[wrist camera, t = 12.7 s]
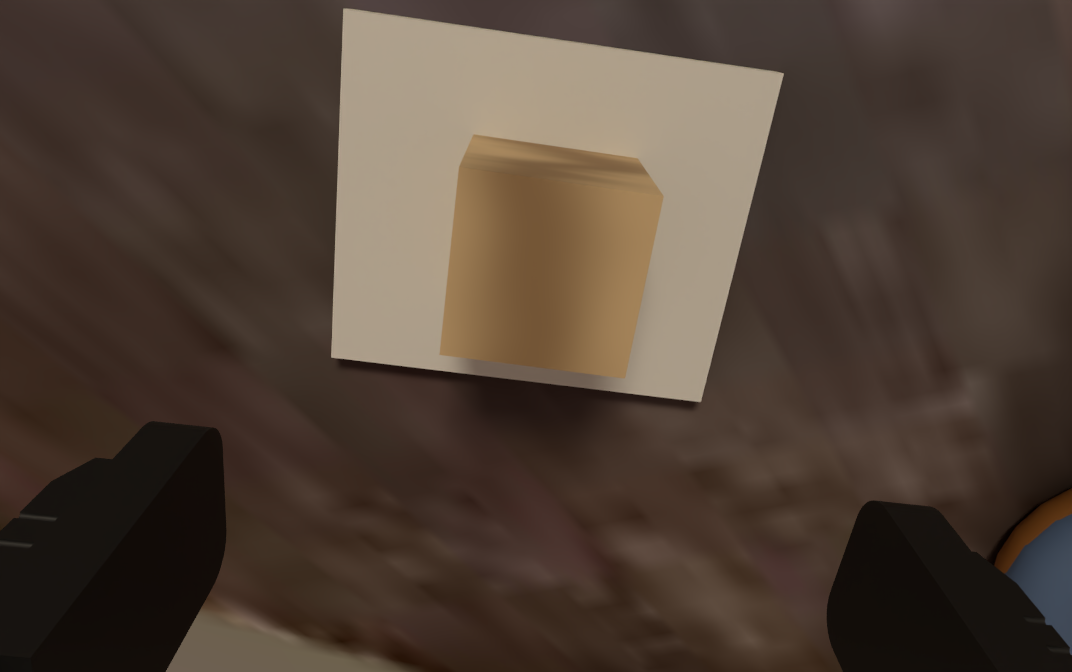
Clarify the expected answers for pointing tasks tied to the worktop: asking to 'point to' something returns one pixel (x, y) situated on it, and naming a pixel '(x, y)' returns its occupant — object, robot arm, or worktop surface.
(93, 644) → the robot arm
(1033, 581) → the doughnut
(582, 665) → the worktop surface
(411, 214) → the plate
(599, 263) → the maple block
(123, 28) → the worktop surface
